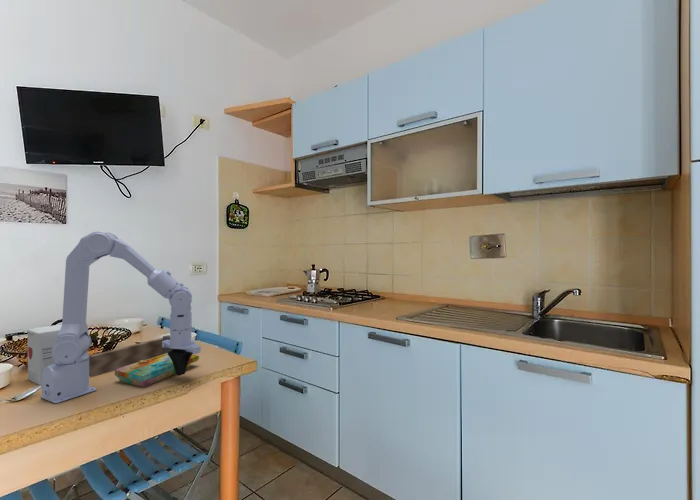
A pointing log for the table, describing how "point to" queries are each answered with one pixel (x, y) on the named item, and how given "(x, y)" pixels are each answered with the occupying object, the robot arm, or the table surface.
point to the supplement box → (41, 350)
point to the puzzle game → (149, 370)
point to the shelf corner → (126, 356)
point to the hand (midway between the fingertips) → (180, 374)
